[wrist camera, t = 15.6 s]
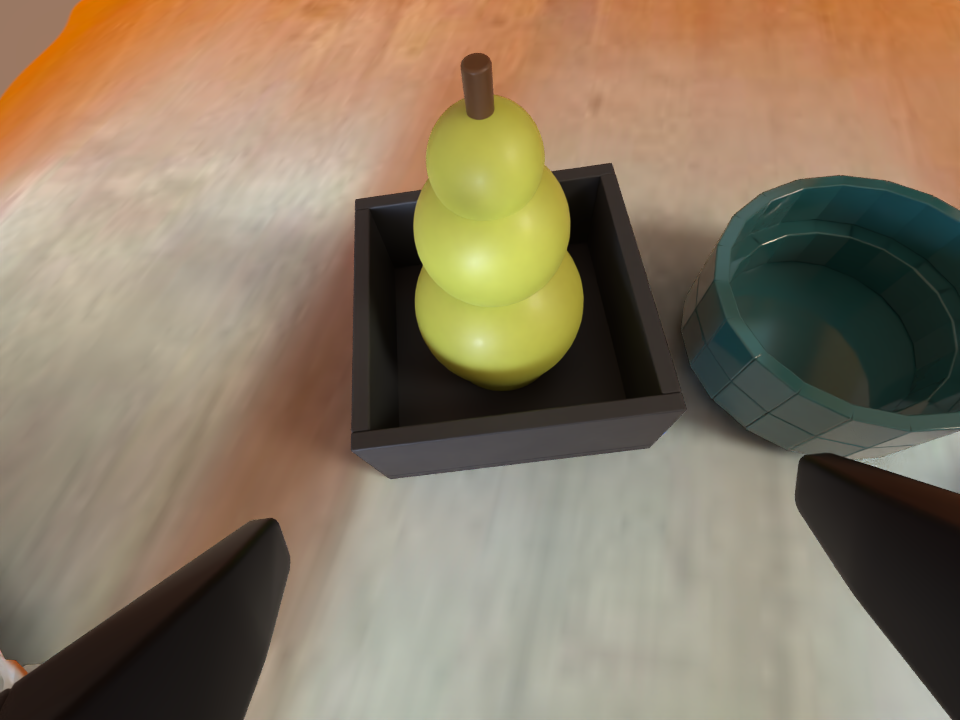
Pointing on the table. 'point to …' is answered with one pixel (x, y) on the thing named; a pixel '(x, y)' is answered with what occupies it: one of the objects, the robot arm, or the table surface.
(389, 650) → the table surface
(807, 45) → the table surface
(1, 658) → the food on plate
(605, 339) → the bin
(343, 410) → the table surface
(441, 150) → the pear
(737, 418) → the bowl
